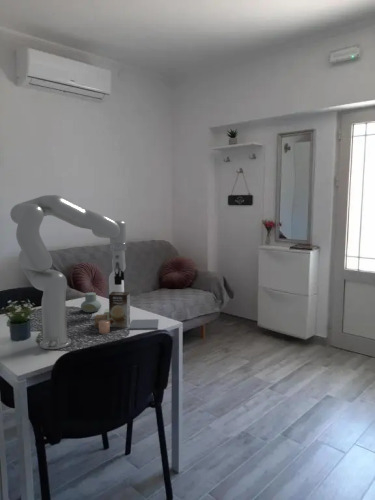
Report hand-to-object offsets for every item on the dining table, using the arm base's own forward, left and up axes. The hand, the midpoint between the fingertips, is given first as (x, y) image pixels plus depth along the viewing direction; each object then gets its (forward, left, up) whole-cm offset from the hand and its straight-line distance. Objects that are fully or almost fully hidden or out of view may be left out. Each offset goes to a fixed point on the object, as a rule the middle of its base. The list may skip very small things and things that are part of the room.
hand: (119, 282), depth 187 cm
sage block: (+9, +6, -22) cm, 24 cm away
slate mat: (0, -12, -21) cm, 24 cm away
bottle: (+20, +4, -22) cm, 30 cm away
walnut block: (0, +9, -22) cm, 23 cm away
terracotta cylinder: (-9, +6, -21) cm, 24 cm away
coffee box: (0, 0, -22) cm, 22 cm away
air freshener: (+26, +19, -22) cm, 39 cm away
